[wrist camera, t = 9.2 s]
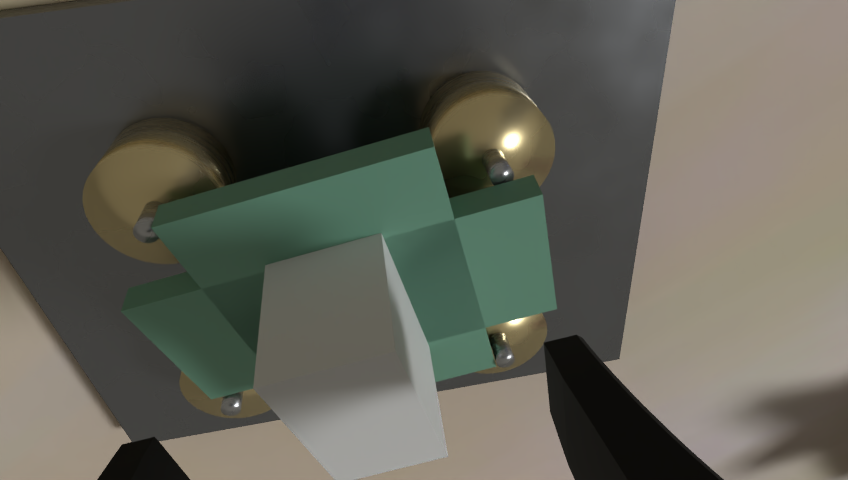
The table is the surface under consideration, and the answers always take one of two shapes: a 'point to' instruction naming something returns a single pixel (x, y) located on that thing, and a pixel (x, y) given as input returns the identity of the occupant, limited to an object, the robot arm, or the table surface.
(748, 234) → the table surface
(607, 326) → the chassis
